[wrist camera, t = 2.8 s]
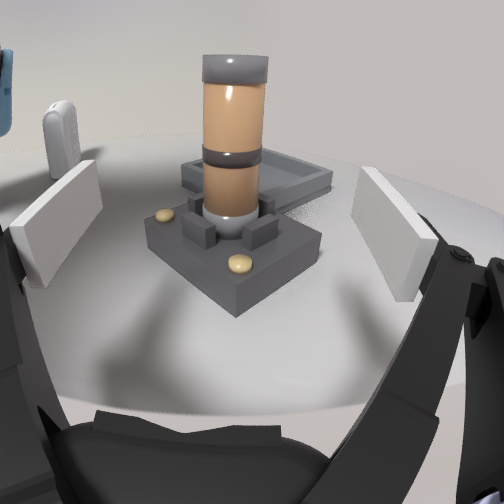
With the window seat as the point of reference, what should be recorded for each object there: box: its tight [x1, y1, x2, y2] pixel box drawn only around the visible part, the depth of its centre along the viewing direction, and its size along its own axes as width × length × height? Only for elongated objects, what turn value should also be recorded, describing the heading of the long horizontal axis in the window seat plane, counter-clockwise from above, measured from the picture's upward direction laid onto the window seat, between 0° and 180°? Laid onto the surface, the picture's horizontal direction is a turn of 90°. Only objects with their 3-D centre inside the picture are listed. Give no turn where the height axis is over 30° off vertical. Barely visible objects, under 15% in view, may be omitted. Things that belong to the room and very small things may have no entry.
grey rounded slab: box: [43, 100, 81, 179], centre depth 44 cm, size 10×4×12 cm, turn 16°
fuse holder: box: [144, 191, 322, 318], centre depth 28 cm, size 12×10×5 cm
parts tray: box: [181, 148, 333, 214], centre depth 41 cm, size 14×14×3 cm
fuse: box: [202, 55, 268, 240], centre depth 23 cm, size 5×5×14 cm
